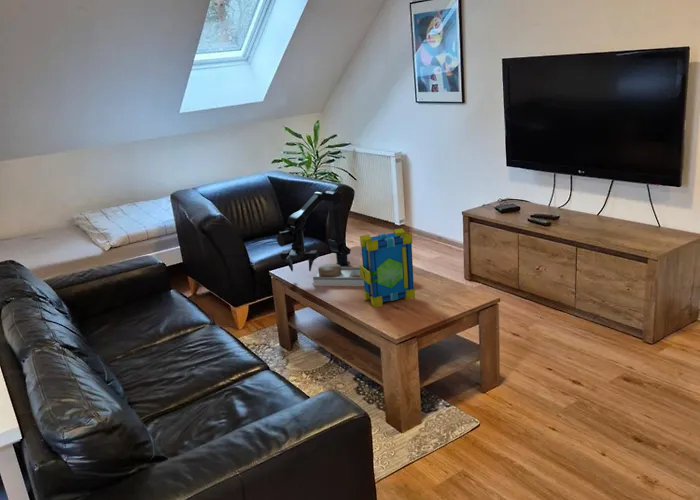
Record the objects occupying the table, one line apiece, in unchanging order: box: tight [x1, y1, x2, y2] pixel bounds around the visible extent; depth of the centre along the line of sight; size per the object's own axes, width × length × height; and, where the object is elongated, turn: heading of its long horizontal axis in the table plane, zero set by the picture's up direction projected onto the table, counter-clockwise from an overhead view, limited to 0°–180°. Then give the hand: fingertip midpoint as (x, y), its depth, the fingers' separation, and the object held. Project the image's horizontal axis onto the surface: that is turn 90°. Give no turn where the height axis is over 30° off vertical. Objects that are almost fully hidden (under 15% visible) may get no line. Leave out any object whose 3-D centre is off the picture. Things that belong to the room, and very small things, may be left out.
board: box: [312, 266, 364, 287], centre depth 308 cm, size 15×31×5 cm, turn 77°
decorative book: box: [358, 227, 416, 308], centre depth 278 cm, size 14×23×30 cm, turn 111°
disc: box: [318, 263, 342, 277], centre depth 310 cm, size 11×11×4 cm
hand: (301, 271), depth 313 cm, fingers open, 9 cm apart
